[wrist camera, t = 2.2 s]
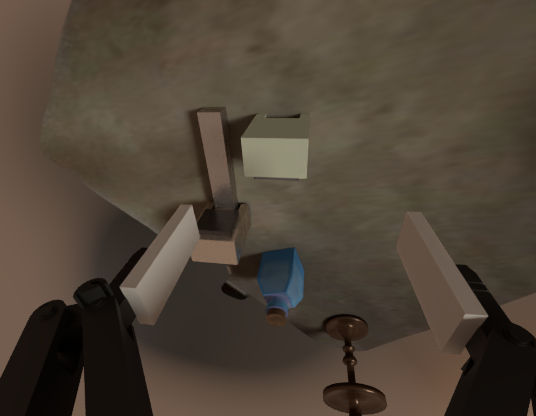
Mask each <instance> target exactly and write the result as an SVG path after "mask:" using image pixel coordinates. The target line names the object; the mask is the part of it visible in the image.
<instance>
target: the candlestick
mask: <svg viewBox="0 0 536 416" xmlns="http://www.w3.org/2000/svg"><path fill="white" fill-rule="evenodd" d="M326 331H327V333H328V334H329V335H330V336H331V337H333V338H336V339H338V340H343V341H345V346H343V351H344V352H345V356H344V358H343V363H344V365H346V366H347V373H348V382H346V383H345V382H344V383H336V384H332V385H329V386H327V387H326V388H325V389H324V390H323V401H324V402H325V403H326V404H327V405H328V406H329V407H331V408H333V409H335V410H338V411H341V412H345V413H349V416H362V414H363V415H364V414H374V413H379V412H381V411H383V410H385V408H386V407H387V402H386V397H385V395H384V394H383V393H382V392H381V391H380V390H378V389H376V388H374V387H371V386H368V385H364V384H359V383H356V381H355V372H354V366H355V365H357V360H356V358H355V357H354V356H353V352H354V351H355V348H354V347H353V346H352V345H351V341H354V340H359V339H361V338H363V337H365V336H366V335H367V333H368V326H367V323H366V322H365V321H364V320H363V319H362V318H360V317H357V316H354V315H349V314H341V315H336V316H333V317H331V318H329V319H328V320H327V322H326Z"/></svg>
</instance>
